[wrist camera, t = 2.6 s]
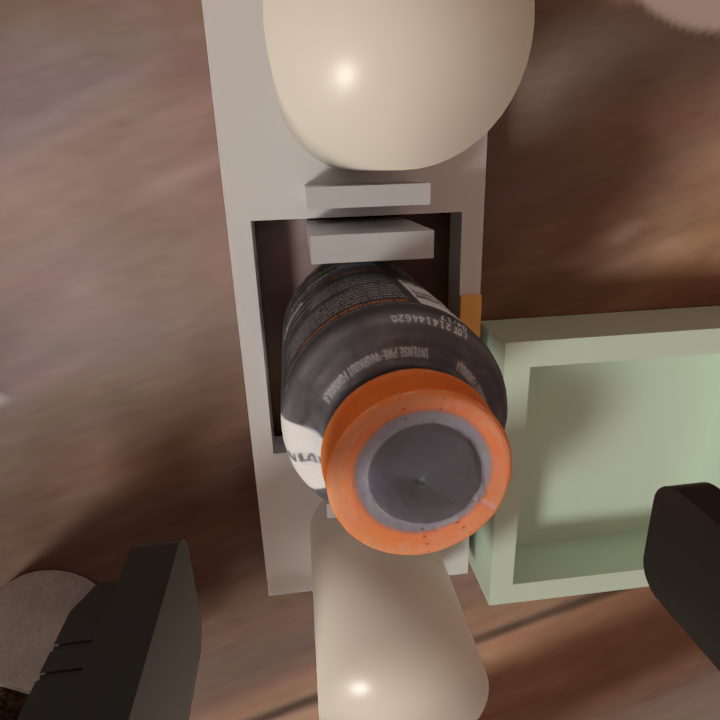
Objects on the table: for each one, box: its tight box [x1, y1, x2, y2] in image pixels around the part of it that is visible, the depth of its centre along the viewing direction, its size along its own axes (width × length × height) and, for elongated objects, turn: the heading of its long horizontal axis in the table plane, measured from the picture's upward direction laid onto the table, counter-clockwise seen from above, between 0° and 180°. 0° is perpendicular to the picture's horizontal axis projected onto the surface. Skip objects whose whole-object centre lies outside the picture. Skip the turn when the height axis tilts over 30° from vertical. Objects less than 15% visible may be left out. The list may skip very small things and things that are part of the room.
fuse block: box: [202, 0, 535, 720], centre depth 17 cm, size 9×23×10 cm, turn 2°
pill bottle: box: [281, 261, 512, 555], centre depth 16 cm, size 6×6×11 cm
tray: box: [468, 306, 720, 605], centre depth 23 cm, size 12×12×3 cm
